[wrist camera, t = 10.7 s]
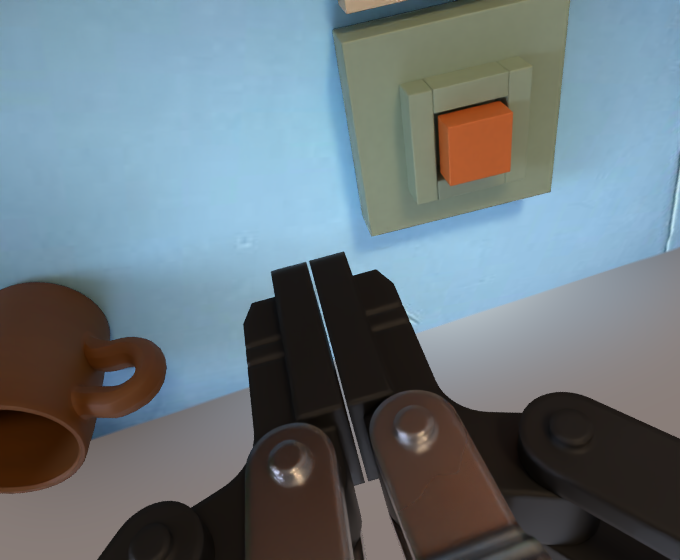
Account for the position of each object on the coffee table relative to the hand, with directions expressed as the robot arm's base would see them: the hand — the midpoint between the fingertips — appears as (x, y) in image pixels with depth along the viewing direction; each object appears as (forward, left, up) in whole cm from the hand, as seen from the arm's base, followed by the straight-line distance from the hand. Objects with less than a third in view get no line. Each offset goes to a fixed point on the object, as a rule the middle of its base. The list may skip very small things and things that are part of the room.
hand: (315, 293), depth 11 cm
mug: (+14, -15, -20) cm, 28 cm away
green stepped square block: (+6, +9, -19) cm, 22 cm away
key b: (+6, +9, -16) cm, 19 cm away
